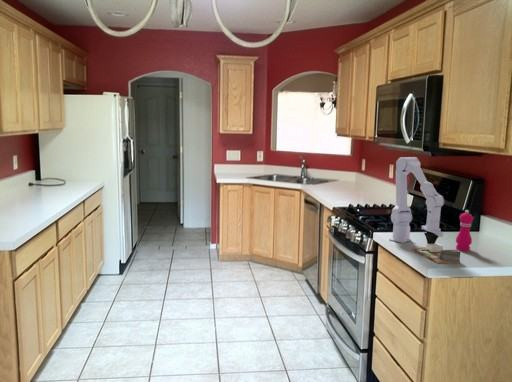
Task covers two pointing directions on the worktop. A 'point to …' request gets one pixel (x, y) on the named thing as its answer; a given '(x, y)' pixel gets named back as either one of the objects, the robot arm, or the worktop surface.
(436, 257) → the gauge base
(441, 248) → the gauge carriage
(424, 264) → the worktop surface
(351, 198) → the worktop surface
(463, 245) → the pepper mill
